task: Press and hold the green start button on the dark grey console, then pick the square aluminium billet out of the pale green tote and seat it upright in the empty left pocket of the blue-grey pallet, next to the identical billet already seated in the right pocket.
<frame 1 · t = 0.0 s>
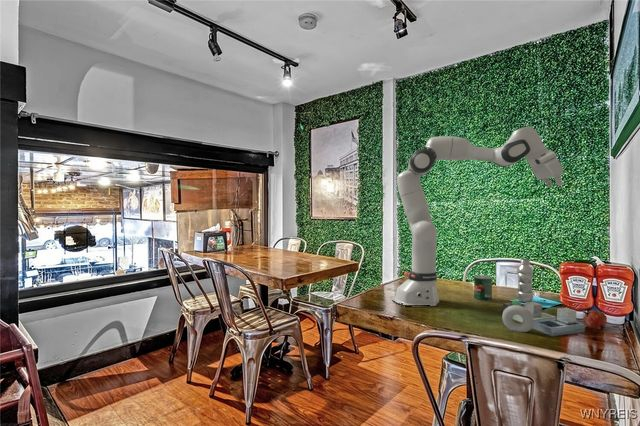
hand: (556, 185, 150), 54 cm above the table, tool tilted 30°, fingers open, 8 cm apart
plastic bottle: (524, 302, 162), on the table
pallet: (558, 332, 123), on the table
donut: (517, 333, 123), on the table
pomegranate: (595, 330, 126), on the table
start button: (516, 304, 143), point 4 cm above the table, slide at 0.0 cm
billet: (533, 321, 133), point 1 cm above the table, touching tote
canned tomato: (482, 299, 167), on the table
console: (516, 314, 144), on the table
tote: (533, 322, 133), on the table
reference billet: (566, 328, 124), point 1 cm above the table, touching pallet
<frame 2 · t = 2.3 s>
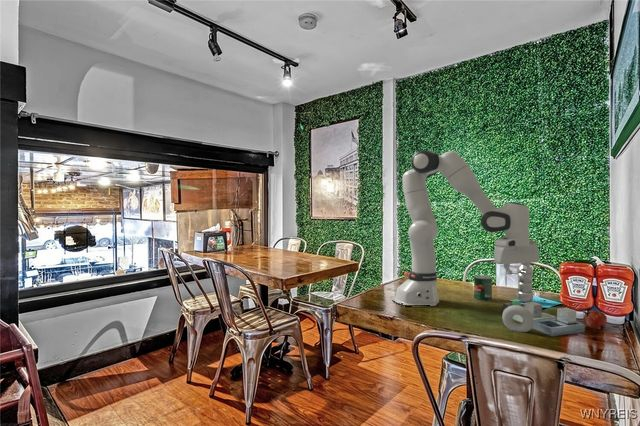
hand: (516, 273, 143), 17 cm above the table, tool pointing down, fingers open, 7 cm apart
nothing on the table moved.
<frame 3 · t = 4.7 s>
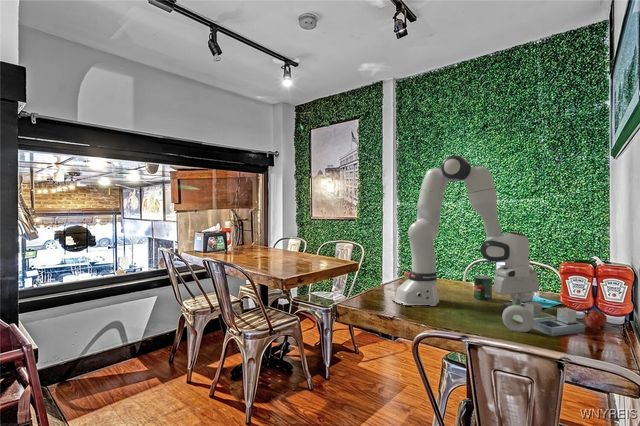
hand: (516, 303, 143), 5 cm above the table, tool pointing down, fingers closed, pressing on start button
start button: (516, 307, 143), point 3 cm above the table, slide at 0.9 cm, touching gripper
everything else where it was.
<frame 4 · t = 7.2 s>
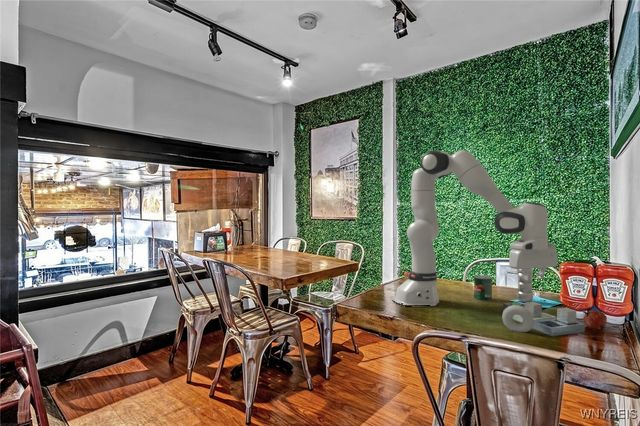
hand: (533, 279, 133), 17 cm above the table, tool pointing down, fingers open, 5 cm apart
start button: (516, 307, 143), point 3 cm above the table, slide at 0.9 cm
everything else where it was.
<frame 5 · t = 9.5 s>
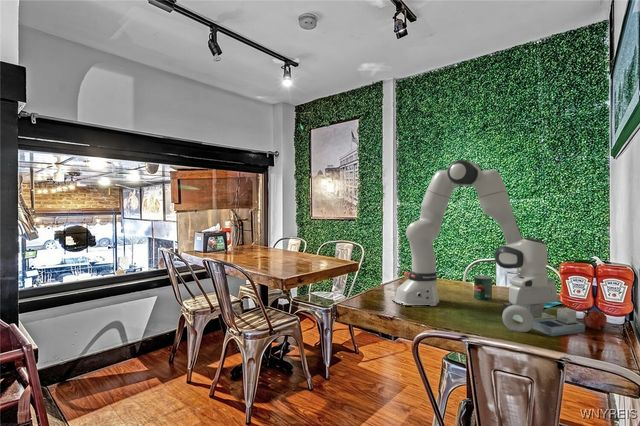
hand: (533, 314, 133), 3 cm above the table, tool pointing down, fingers closed on billet, 4 cm apart
billet: (533, 321, 133), point 1 cm above the table, touching gripper, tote
everything else where it was.
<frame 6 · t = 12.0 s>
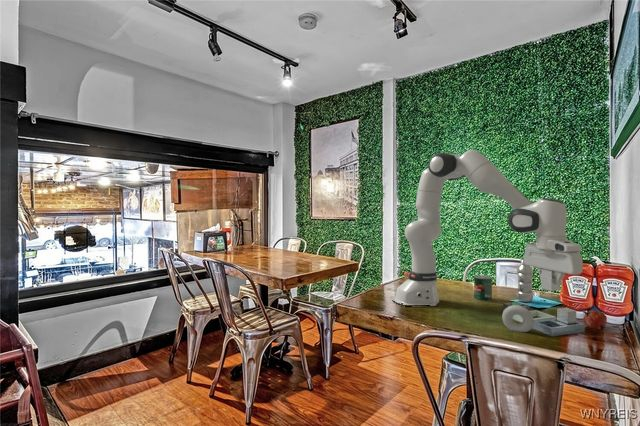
hand: (550, 282, 122), 18 cm above the table, tool pointing down, fingers closed on billet, 4 cm apart
billet: (550, 289, 122), point 16 cm above the table, touching gripper
everything else where it was.
when the fingers open (5 cm above the table, at t = 14.7 s): billet drops 1 cm, resting on pallet.
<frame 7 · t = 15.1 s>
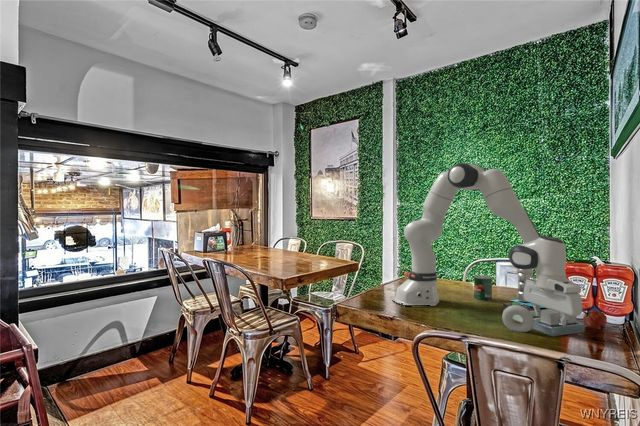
hand: (550, 320, 122), 5 cm above the table, tool pointing down, fingers open, 8 cm apart
billet: (549, 330, 122), point 1 cm above the table, touching pallet
everything else where it was.
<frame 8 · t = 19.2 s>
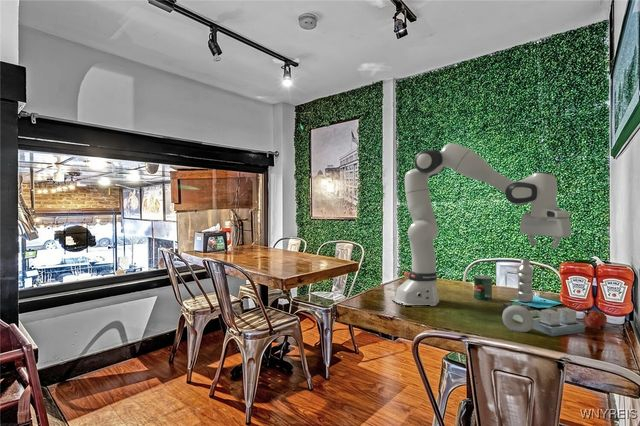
hand: (543, 246, 138), 29 cm above the table, tool pointing down, fingers open, 8 cm apart
nothing on the table moved.
at the end: billet 0.1 cm from the target spot on the pallet, point 1.0 cm above the pallet's base; billet tilted 0°; the gripper is holding nothing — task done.
